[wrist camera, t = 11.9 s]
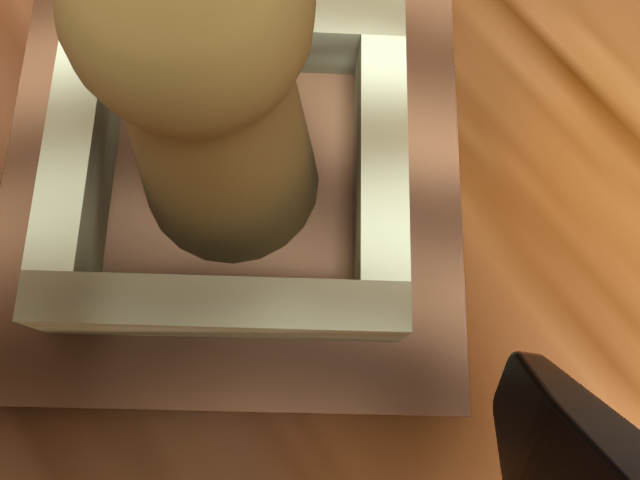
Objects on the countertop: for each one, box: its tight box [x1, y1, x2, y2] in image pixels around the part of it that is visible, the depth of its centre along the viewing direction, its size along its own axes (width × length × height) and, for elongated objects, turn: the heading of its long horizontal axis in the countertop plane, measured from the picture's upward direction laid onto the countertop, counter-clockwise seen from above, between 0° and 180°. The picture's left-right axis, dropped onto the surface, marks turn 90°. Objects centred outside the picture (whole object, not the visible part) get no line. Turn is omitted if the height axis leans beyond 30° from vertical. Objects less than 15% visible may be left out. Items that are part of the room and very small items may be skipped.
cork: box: [52, 0, 319, 264], centre depth 16 cm, size 6×6×11 cm
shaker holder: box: [0, 0, 471, 417], centre depth 21 cm, size 16×16×3 cm
